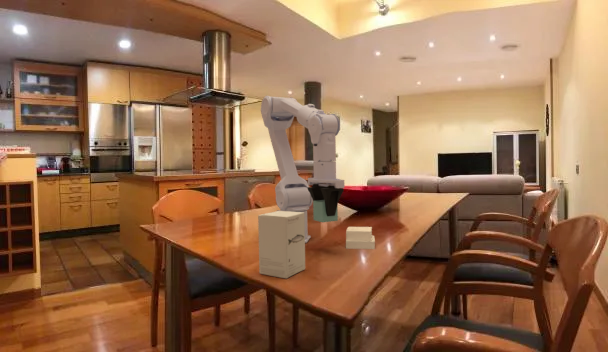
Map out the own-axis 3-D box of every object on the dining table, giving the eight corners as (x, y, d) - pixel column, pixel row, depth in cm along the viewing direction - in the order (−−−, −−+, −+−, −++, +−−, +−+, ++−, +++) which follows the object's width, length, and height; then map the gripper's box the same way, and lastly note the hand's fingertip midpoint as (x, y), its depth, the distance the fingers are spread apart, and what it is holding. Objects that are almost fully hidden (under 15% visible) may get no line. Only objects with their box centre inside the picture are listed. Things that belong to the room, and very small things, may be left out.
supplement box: (287, 279, 75) (285, 216, 74) (258, 274, 79) (256, 214, 78) (306, 269, 81) (305, 211, 81) (278, 265, 85) (277, 209, 85)
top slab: (346, 240, 100) (346, 231, 100) (348, 235, 106) (348, 226, 106) (371, 240, 98) (370, 231, 98) (371, 235, 105) (371, 227, 105)
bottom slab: (346, 250, 99) (345, 241, 99) (347, 243, 107) (347, 235, 106) (374, 251, 98) (374, 241, 98) (374, 244, 105) (374, 235, 105)
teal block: (313, 220, 97) (313, 200, 97) (328, 218, 99) (327, 199, 99) (322, 222, 93) (322, 202, 93) (337, 220, 95) (337, 201, 95)
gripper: (297, 161, 100) (298, 212, 101) (326, 162, 87) (327, 219, 88) (320, 161, 103) (321, 210, 104) (351, 161, 91) (352, 217, 91)
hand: (325, 214), depth 96 cm, fingers closed on teal block, 4 cm apart
